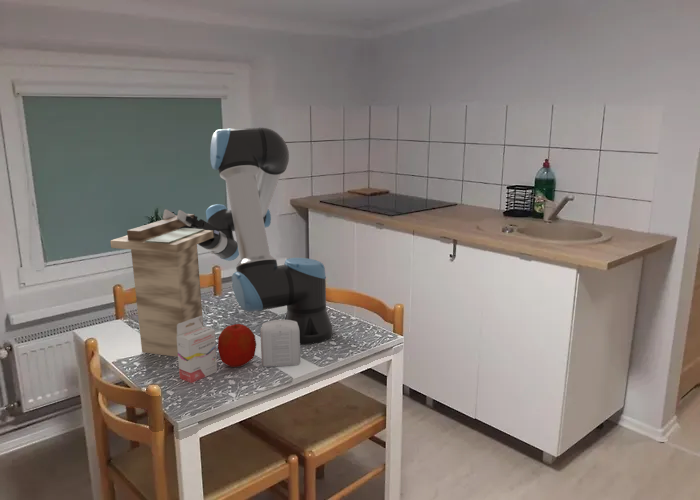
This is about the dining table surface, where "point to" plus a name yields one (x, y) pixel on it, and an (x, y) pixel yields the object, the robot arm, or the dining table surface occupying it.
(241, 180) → the robot arm
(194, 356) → the ink cartridge box
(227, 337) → the apple
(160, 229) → the walnut strip
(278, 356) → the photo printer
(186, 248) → the oak stand
